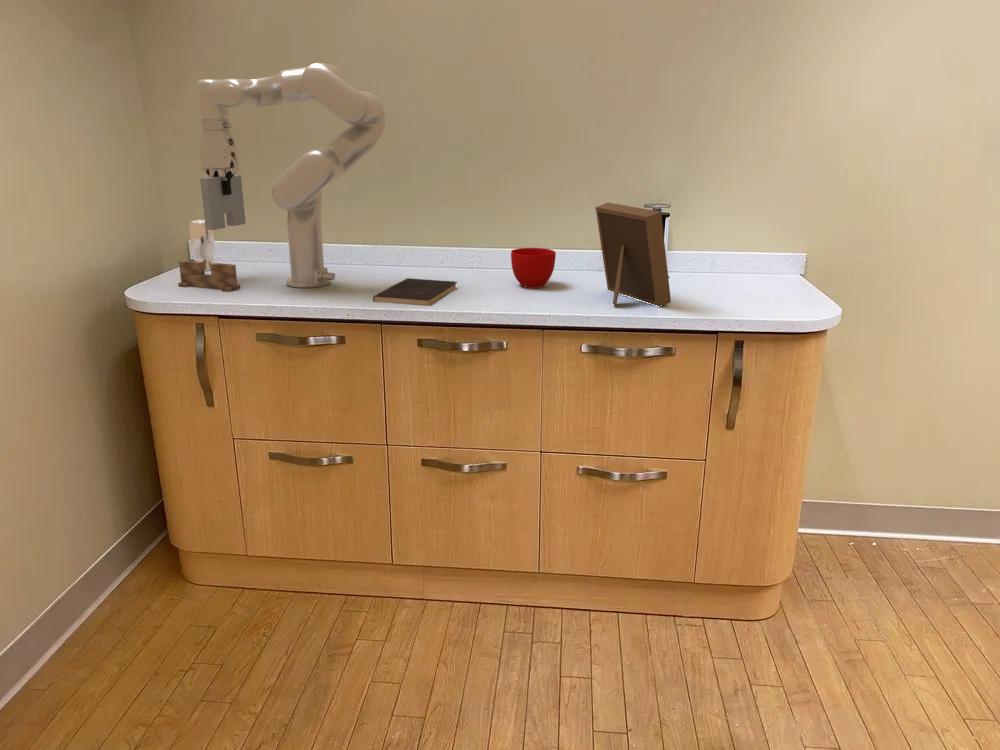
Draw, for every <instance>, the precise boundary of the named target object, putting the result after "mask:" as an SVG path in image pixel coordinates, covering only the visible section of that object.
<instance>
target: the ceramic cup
mask: <svg viewBox="0 0 1000 750" xmlns="http://www.w3.org/2000/svg"><path fill="white" fill-rule="evenodd" d="M556 254H557V253H556V251H555V250H554V249H548V248H543V247H542V248H541V247H522V248H516V249H512V250H511V252H510V260H511V261H510V263H511V269H512V272H513V276H514V277H515V279H516V280H517V281H518V283H519V284H520V286H521V285H522V286H521V287H523V286H526V287H525V288H527V287H539V288H542V287H541V286H543V287H544V286H546V284H547V282H548V281H549V280H550V279H551V277H552V275H553V272H554V269H555V264H556V257H557V256H556Z"/></svg>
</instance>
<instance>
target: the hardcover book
mask: <svg viewBox="0 0 1000 750" xmlns="http://www.w3.org/2000/svg"><path fill="white" fill-rule="evenodd" d="M457 283H458V281H454V280H453V281H449V280H438V279H437V280H436V279H425V278H422V279H421V278H410V277H409V278H408V277H406V278H405V279H403V280H402V281H401V280H400V281H399V282H398V283H395V284H394V285H391V286H390V287H387V288H386V289H384V290H382V291H380V292H378V293H377V294H375V295H373V297H372V301H373V303H374V302H378V303H379V302H380V303H388V304H389V303H392V304H404V305H405V304H406V305H414V306H415V305H416V306H428V307H429V306H430V305H431V304H433V303H434V301H435V302H436V301H438V300H439V299H441V298H442V297H444V296H445V295H447V294H448V293H449V292H451V291H453V290H455V289H456V287H457V286H456V284H457ZM440 297H441V298H440ZM437 299H438V300H437Z"/></svg>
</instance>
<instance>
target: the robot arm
mask: <svg viewBox="0 0 1000 750" xmlns="http://www.w3.org/2000/svg"><path fill="white" fill-rule="evenodd" d="M196 92H197V101H198V109H199V110H198V111H199V117H200V127H201V128H200V129H201V131H200V135H199V155H200V157H199V158H200V161H201V167H200V170H201V172H203V173H206V175H207V176H208V178H210V177H220V174H221V176H222V179H223V181H221V185H222V194H223V195H231V194H232V192H231V182H230V180H232V177H233V176H234V175H237V174H239V172H240V168H239V167H240V158H239V150H238V147H237V141H236V139H235V136H234V132H233V131H231V128H232V127H233V124H232V122H230V115H229V108H233V109H254V108H256V109H257V108H260V107H261V108H263V107H271V106H278V105H290V104H297V103H302V102H309V101H316V102H318V103H319V104H321V106H323V107H325V108H326V109H327V110H329V111H330V112H331V113H333V114H334V115H335V116H336V117H338V118H340V120H342V121H344V122H345V123H347V124H349V126H348V127H347V128H345V129H344V130H343V131H341V132H340V133H338V135H337V136H336V137H335V138H333V140H331V141H330V142H329V143H328V144H326V145H325V146H324V147H320V148H315V149H311V150H309V151H307V152H305V153H304V154H303V155H301V156H300V157H299V158H298V159H296V161H294V163H293V164H292V165H290V166H289V167H288V168H286V170H284V171H283V172H282V174H281V175H279V176H278V177H277V178H276V179H275V181H274V183H273V185H272V189H271V195H272V199H273V201H274V202H275V204H276V206H278V207H279V208H281V209H283V210H287V211H286V212H287V213H286V227H287V241H288V251H289V255H288V256H289V265H290V266H289V267H290V275H291V276H290V277H289V278H287V279H286V280H285V284H286V285H287V286H288V287H291V288H292V287H293V288H304V289H305V288H307V289H308V288H319V287H323V286H328V285H330V283H331V281H334V280H335V279H336V273H335V272H329V271H328V267H325V262H324V261H325V259H324V258H325V257H324V246H323V245H324V244H323V243H324V242H323V232H322V229H323V228H322V227H323V226H322V202H323V201H322V198H323V196H322V195H323V190H322V189H323V188H324V187H326V186H327V185H330V184H333V183H336V182H337V181H339V180H340V179H341V178H342V177H343V176H344V175H345V174H346V173H348V171H349V170H351V168H353V167H354V166H355V165H357V163H359V162H360V160H361V159H362V158H364V157H365V155H367V154H368V153H369V152H370V151H371V150H372V149H373V148H374V147H375V146H376V145H377V144H378V142H379V141H380V140H381V137H382V136H383V133H384V130H385V126H386V112H385V109H384V105H383V103H382V101H381V100H380V98H379V97H378V96H377V95H375V94H374V93H372V92H369V91H364V90H357V89H356V88H354V87H353V86H352V84H349V83H348V82H347V81H345V78H344V75H343V73H342V71H341V70H340V68H339V67H337V66H335V65H333V64H329V63H324V62H314V63H311V64H309V65H308V66H305V67H297V68H289V69H283V70H280V71H279V72H278V74H276V75H272V76H267V77H261V78H253V79H245V78H226V79H212V78H211V79H210V78H208V79H207V78H205V79H204V78H203V79H199V80H198V81H197V82H196ZM220 172H221V173H220Z"/></svg>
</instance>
